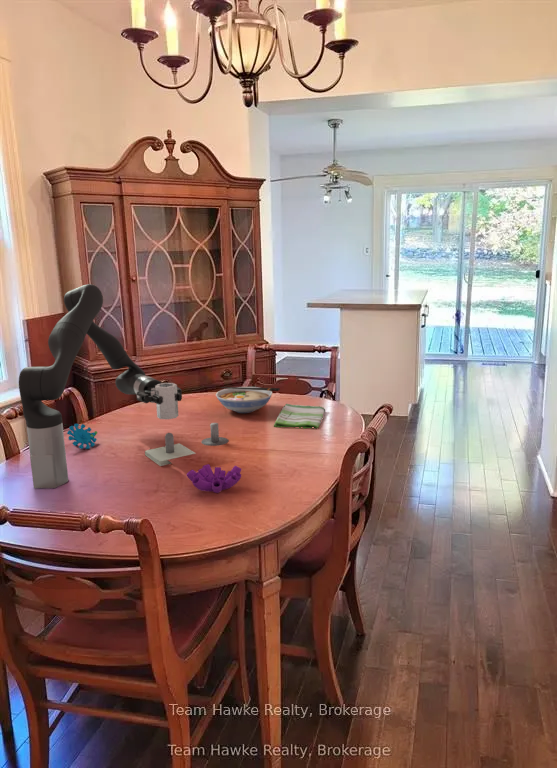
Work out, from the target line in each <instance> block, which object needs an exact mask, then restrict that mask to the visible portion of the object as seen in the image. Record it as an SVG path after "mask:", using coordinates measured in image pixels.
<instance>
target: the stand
mask: <svg viewBox="0 0 557 768" xmlns="http://www.w3.org/2000/svg"><path fill="white" fill-rule="evenodd" d="M209 427H210V437H206V438H204V439H202V440H201V441H200V442H201V444H202V445H204V446H210V447H219V446H223V445H226V444H228V443H229V438H226V437H222V436H220V433H219V431H220V429H219V422H211V423H210V424H209Z"/></svg>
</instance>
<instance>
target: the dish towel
mask: <svg viewBox="0 0 557 768" xmlns="http://www.w3.org/2000/svg"><path fill="white" fill-rule="evenodd" d="M324 412H325V413H326V408H324V407H323V406H319V405H318V406H317V405H314V406H313V405H300V404H291V403H286V404H285V405H284V406H283V407H282V409H281V410H280V412H279V414H278V416H277V418H276V420H275V422H274V424H273V428H281V427H299V428H298V429H306V428H312V427H314V428H315V429H317V428H318V427H319V428H320V426H319V425H321V424H322V423H321V420H322V418H323V414H324ZM324 415H325V414H324ZM323 419H324V418H323ZM322 421H323V420H322ZM320 423H321V424H320ZM301 427H303V428H301ZM319 428H318V429H319Z"/></svg>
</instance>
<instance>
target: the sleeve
mask: <svg viewBox="0 0 557 768" xmlns="http://www.w3.org/2000/svg"><path fill="white" fill-rule="evenodd" d="M177 387H178V385H177V384H176V383H174V382H161V384H157V385H156V386H155V390H156V395H157V396H159V397H160V398H161V404H159V405H158V404H157V403H155V405H156V406H155V407H156V417H157V418H158V419H159V420H173V419H177V418H178V417H179V401H178V399H177Z"/></svg>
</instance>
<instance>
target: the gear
mask: <svg viewBox="0 0 557 768" xmlns="http://www.w3.org/2000/svg"><path fill="white" fill-rule="evenodd" d="M79 425H80V424H79V423H74V425H71V426H69V427H68V431H67V433H66V434H67V435H68V437H67V439H68V441H73V442H72V446H74V447H76V446H78V445H79V444H80V445H79V446H78V448H79V449H80V450H83V448H85V450H90V448H94V447H95V446H96V441H97V440H98V439H97V438H96V436H97V434H98V431H97V430H95V431H94V432H91V431H92V428H91V427H90V426H89V427H87V428H86V429H85V427H86V425H85V424H83V423H82V424H81V425H80V428H79ZM84 445H86V446H85V447H84Z"/></svg>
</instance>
